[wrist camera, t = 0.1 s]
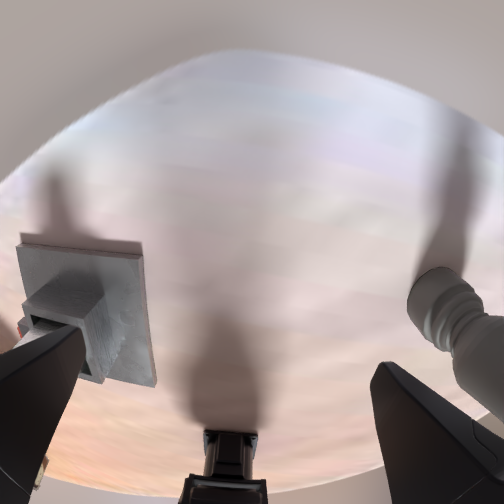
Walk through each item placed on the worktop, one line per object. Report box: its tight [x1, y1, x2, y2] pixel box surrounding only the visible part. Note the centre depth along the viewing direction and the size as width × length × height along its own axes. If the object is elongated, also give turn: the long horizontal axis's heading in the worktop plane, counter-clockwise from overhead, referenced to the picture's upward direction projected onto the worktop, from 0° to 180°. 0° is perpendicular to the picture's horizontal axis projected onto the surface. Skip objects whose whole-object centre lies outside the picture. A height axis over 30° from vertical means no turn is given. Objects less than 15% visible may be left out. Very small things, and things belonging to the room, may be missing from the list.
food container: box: [33, 454, 49, 491], centre depth 34 cm, size 12×6×10 cm, turn 165°
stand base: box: [16, 243, 157, 388], centre depth 22 cm, size 14×14×5 cm
